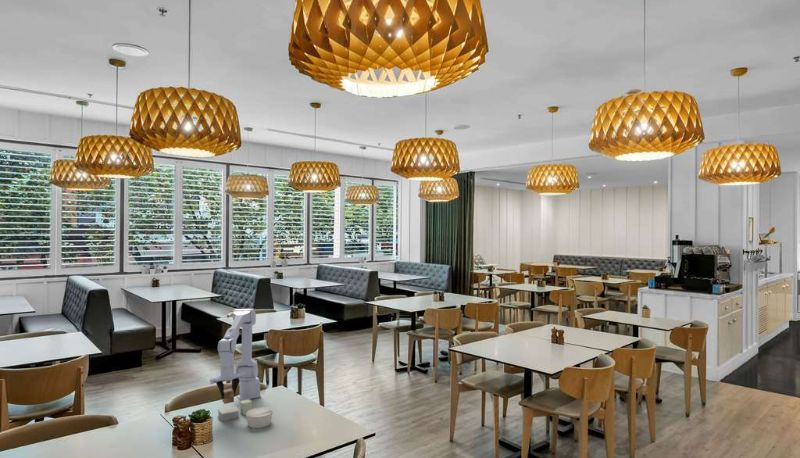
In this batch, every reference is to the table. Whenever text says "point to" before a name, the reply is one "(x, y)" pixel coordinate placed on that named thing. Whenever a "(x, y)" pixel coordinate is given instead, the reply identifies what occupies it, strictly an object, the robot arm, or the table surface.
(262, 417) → the ramekin
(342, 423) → the table surface
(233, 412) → the plinth block
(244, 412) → the sage block
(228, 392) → the walnut block
